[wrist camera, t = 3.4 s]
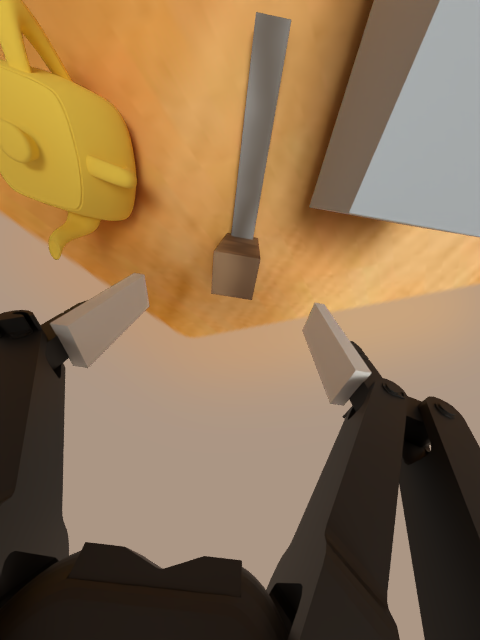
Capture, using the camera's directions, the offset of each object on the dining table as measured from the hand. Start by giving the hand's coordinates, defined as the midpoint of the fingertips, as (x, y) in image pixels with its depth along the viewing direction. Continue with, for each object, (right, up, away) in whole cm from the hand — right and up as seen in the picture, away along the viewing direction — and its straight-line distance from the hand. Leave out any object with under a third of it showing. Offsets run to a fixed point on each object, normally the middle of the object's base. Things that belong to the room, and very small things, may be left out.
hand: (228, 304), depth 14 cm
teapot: (-17, +18, +9) cm, 26 cm away
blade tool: (+2, +16, +8) cm, 18 cm away
